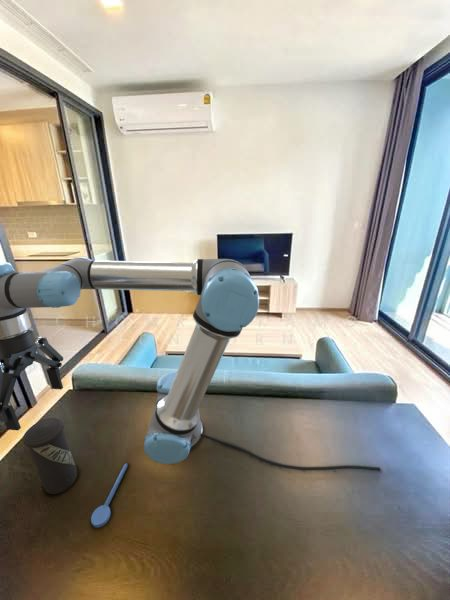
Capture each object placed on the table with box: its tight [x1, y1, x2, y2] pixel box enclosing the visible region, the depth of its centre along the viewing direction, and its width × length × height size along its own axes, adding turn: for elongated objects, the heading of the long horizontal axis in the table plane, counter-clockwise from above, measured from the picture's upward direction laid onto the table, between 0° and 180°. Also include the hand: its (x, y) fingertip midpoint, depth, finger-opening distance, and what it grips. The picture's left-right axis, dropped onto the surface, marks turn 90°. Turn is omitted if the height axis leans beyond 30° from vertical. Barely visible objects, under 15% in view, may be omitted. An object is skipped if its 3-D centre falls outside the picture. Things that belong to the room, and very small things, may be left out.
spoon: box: [90, 463, 129, 528], centre depth 68 cm, size 16×4×1 cm, turn 173°
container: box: [22, 417, 78, 495], centre depth 68 cm, size 9×9×20 cm
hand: (38, 406), depth 63 cm, fingers open, 13 cm apart
